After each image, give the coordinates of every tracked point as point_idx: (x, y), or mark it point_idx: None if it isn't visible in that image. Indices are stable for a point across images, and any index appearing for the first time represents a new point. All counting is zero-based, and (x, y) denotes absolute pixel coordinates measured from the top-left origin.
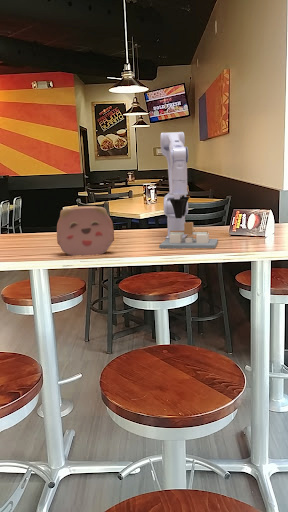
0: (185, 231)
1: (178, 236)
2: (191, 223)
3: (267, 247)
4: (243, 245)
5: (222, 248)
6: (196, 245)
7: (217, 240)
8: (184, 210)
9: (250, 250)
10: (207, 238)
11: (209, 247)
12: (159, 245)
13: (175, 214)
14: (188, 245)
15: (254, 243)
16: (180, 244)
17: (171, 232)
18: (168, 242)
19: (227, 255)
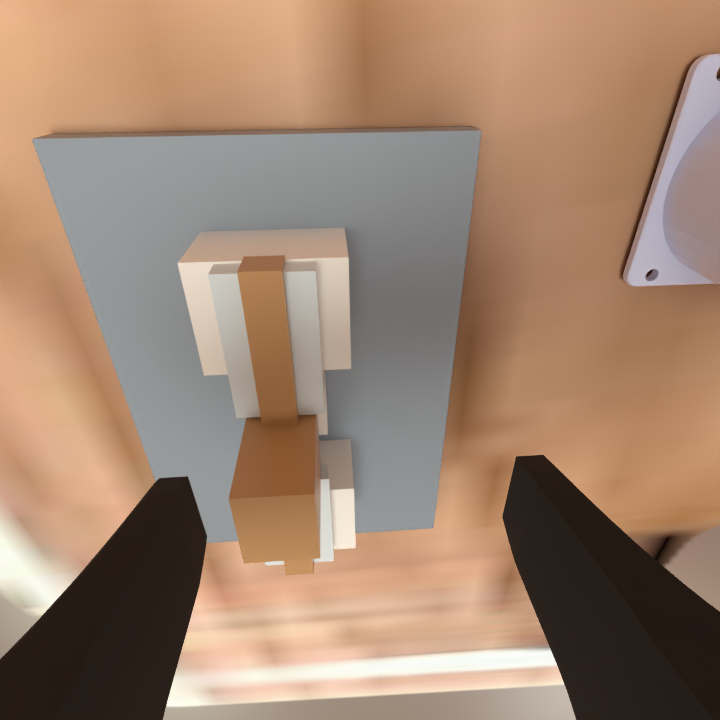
0: (246, 435)
1: (204, 351)
2: (244, 554)
3: (277, 671)
4: (318, 610)
5: (208, 553)
6: (147, 458)
7: (400, 525)
8: (536, 604)
9: (186, 639)
10: None
11: None
12: (33, 140)
13: (118, 537)
14: (132, 409)
15: (379, 634)
16: (146, 347)
17: (212, 290)
18: (227, 211)
19: (13, 591)
